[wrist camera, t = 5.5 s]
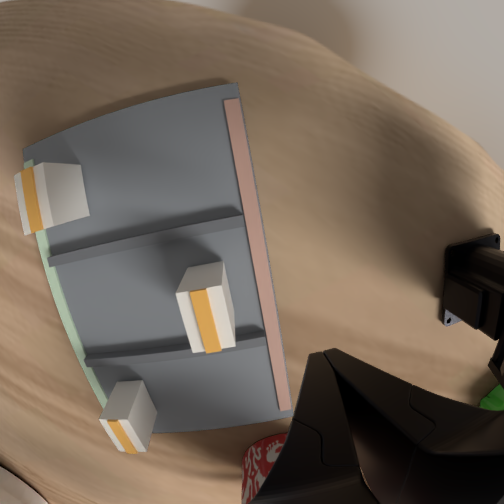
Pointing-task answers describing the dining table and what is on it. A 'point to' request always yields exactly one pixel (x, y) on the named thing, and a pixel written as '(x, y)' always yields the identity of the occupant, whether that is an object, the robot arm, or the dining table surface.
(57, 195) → the block
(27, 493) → the bowl
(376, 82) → the dining table surface
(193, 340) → the block
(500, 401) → the fruit basket
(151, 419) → the block
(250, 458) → the mug
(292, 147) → the dining table surface
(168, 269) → the panel
